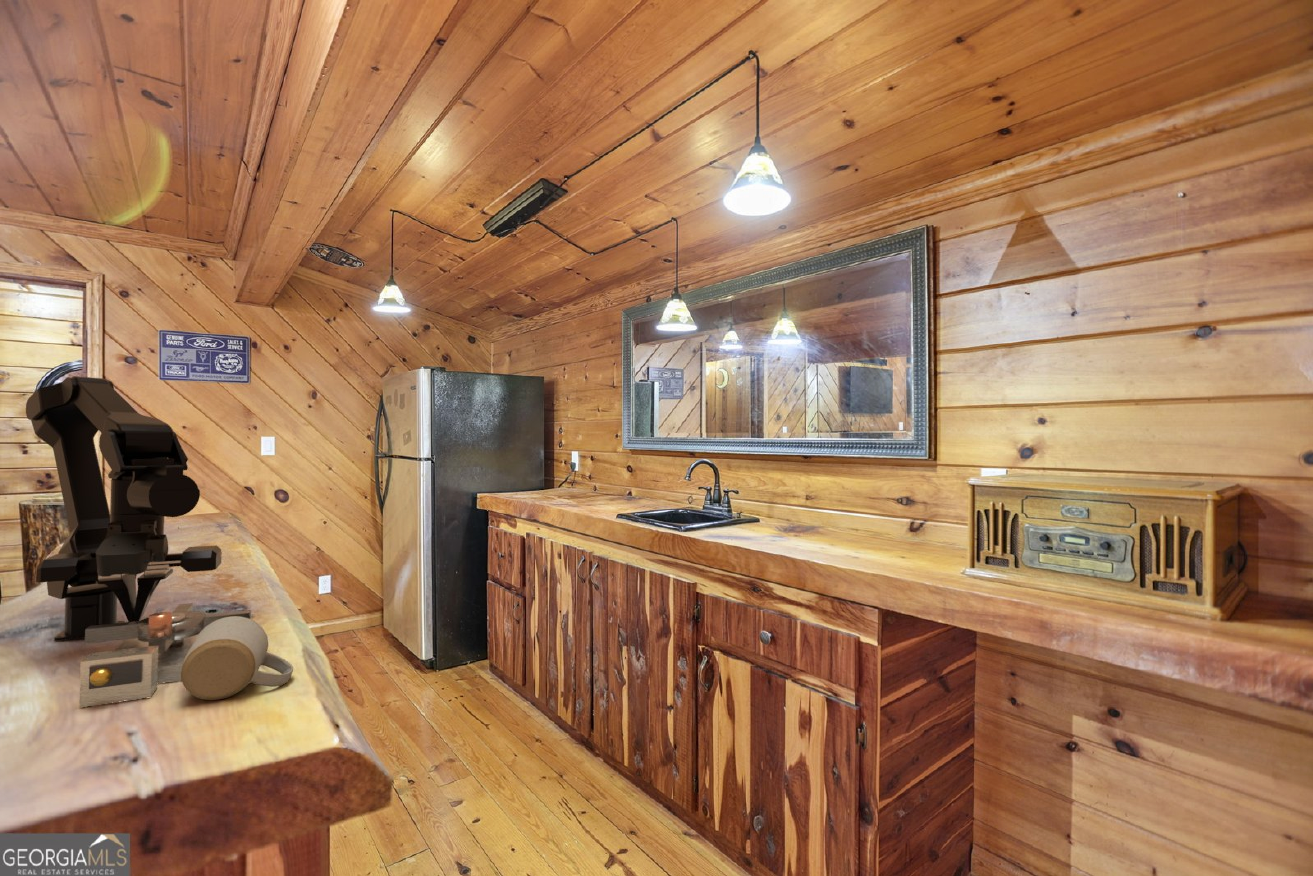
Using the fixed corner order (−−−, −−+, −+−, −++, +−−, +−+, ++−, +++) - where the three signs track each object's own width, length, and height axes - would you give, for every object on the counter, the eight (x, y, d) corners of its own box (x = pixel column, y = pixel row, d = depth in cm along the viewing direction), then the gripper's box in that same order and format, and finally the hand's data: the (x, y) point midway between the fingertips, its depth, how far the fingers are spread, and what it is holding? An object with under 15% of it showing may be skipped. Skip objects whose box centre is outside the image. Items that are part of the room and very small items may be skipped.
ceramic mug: (175, 709, 65) (178, 638, 65) (192, 682, 72) (195, 618, 72) (289, 694, 70) (292, 627, 70) (294, 670, 77) (297, 610, 77)
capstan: (108, 624, 83) (109, 593, 83) (256, 610, 91) (257, 581, 91) (60, 665, 68) (61, 626, 68) (242, 643, 76) (243, 609, 76)
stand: (132, 646, 84) (133, 610, 84) (236, 634, 90) (236, 601, 90) (68, 714, 63) (70, 666, 64) (208, 693, 69) (209, 649, 69)
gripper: (18, 522, 72) (14, 653, 72) (210, 515, 81) (207, 632, 81) (55, 512, 82) (52, 627, 81) (223, 507, 91) (220, 611, 90)
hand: (134, 624), depth 83 cm, fingers closed
